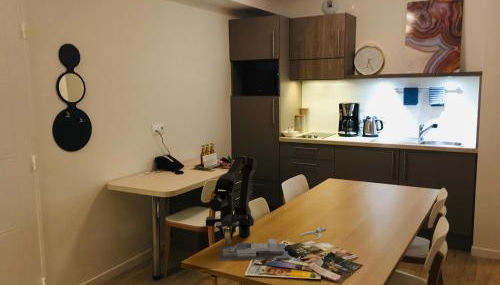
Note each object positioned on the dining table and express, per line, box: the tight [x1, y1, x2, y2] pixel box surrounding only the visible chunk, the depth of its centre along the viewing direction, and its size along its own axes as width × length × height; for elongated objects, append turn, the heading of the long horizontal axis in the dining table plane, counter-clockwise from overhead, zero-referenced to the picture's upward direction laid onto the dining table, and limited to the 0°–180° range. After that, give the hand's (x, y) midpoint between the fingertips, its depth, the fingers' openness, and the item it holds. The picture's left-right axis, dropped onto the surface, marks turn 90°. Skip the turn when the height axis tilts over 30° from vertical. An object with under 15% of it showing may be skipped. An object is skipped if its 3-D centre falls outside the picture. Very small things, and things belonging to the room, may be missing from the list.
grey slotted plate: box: [223, 247, 284, 258], centre depth 178 cm, size 8×26×2 cm, turn 93°
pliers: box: [299, 226, 327, 241], centre depth 202 cm, size 10×2×15 cm
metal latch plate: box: [236, 238, 278, 254], centre depth 177 cm, size 8×17×3 cm, turn 93°
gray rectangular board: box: [217, 243, 290, 262], centre depth 180 cm, size 16×30×1 cm, turn 93°
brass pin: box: [223, 226, 232, 246], centre depth 183 cm, size 3×3×7 cm
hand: (227, 239), depth 183 cm, fingers closed on brass pin, 3 cm apart
